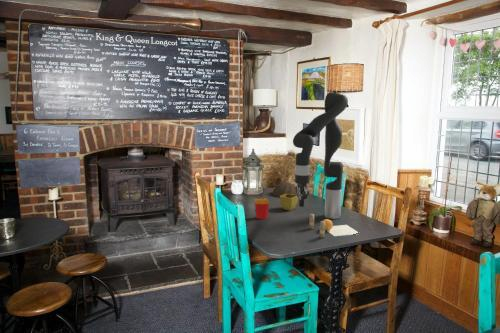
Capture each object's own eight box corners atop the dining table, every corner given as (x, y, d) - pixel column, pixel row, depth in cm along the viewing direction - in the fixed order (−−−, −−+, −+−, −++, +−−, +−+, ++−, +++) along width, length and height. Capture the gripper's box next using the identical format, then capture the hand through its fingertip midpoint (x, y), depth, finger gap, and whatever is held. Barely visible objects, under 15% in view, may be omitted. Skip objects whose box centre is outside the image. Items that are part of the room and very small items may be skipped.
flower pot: (291, 212, 245) (291, 198, 243) (279, 209, 250) (279, 196, 249) (298, 209, 252) (298, 195, 250) (286, 206, 257) (286, 193, 255)
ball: (317, 227, 213) (320, 217, 211) (325, 227, 216) (328, 217, 215) (325, 232, 208) (328, 221, 207) (333, 232, 211) (336, 222, 210)
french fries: (268, 216, 235) (268, 197, 233) (268, 218, 231) (269, 199, 229) (254, 217, 235) (254, 197, 233) (254, 219, 231) (254, 199, 229)
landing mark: (321, 227, 217) (321, 226, 217) (346, 225, 220) (346, 224, 220) (334, 236, 202) (334, 236, 202) (360, 234, 206) (360, 233, 206)
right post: (318, 236, 202) (319, 221, 201) (323, 236, 203) (323, 221, 202) (320, 238, 200) (321, 223, 198) (325, 237, 200) (326, 222, 199)
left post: (308, 228, 215) (308, 214, 214) (312, 227, 216) (313, 213, 214) (310, 229, 213) (310, 215, 211) (314, 229, 213) (315, 215, 212)
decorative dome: (285, 199, 276) (285, 185, 274) (267, 194, 291) (267, 181, 289) (304, 195, 287) (305, 182, 285) (286, 190, 303) (286, 177, 301)
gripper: (314, 175, 195) (313, 209, 198) (304, 170, 207) (303, 202, 210) (300, 176, 193) (299, 210, 196) (290, 171, 205) (290, 203, 208)
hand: (301, 206), depth 203 cm, fingers closed
